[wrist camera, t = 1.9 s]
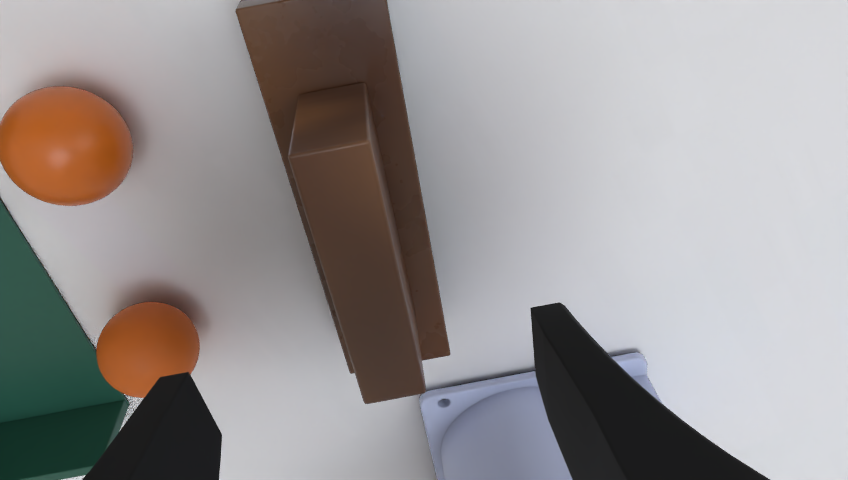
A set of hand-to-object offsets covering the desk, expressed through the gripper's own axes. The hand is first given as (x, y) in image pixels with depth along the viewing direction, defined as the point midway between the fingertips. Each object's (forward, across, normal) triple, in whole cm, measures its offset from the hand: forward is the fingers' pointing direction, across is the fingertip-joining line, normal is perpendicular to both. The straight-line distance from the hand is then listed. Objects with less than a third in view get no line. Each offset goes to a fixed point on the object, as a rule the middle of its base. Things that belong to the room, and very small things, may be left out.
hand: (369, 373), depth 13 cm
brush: (+9, 0, 0) cm, 9 cm away
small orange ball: (+7, +7, -3) cm, 11 cm away
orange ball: (+7, +8, +4) cm, 12 cm away
